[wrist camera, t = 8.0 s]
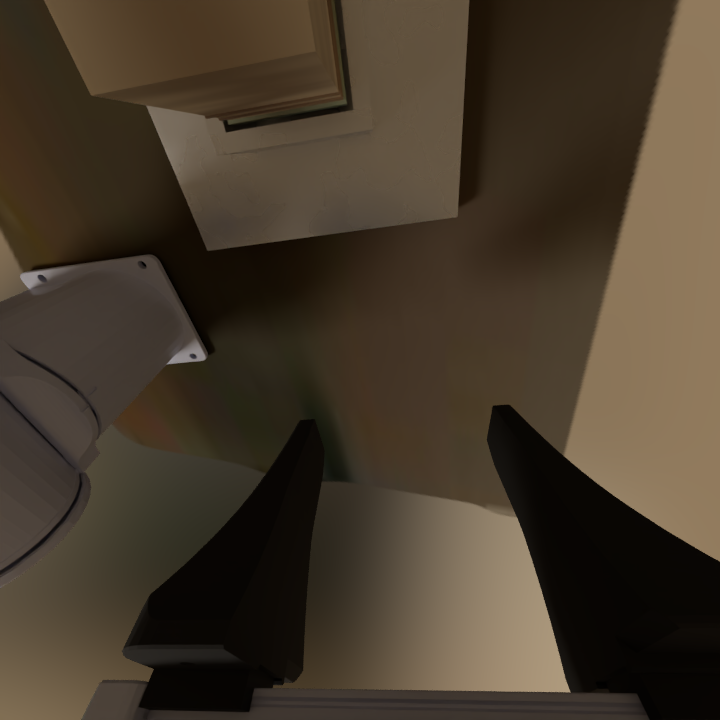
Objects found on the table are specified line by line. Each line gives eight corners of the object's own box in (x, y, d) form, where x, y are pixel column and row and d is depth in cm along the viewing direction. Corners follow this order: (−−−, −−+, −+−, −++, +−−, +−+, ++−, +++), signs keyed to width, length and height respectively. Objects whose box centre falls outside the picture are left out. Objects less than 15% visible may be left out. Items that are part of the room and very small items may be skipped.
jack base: (218, 244, 18) (165, 278, 13) (51, -180, 10) (-234, -471, 5) (451, 211, 17) (483, 238, 12) (473, -307, 9) (597, -846, 4)
